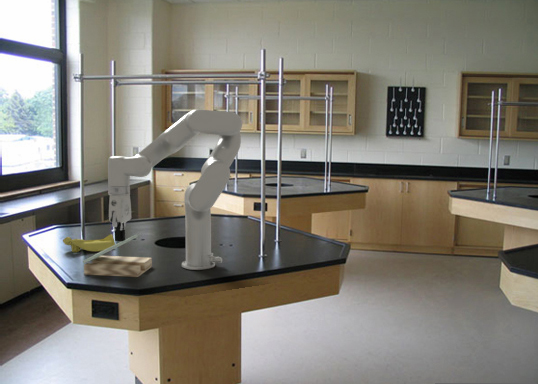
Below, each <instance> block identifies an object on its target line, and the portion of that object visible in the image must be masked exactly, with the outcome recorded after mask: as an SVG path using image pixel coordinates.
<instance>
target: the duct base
mask: <svg viewBox="0 0 538 384" xmlns="http://www.w3.org/2000/svg"><path fill="white" fill-rule="evenodd" d="M152 259H153V258H152V257H143V256H121V255H120V256H119V255H117V256H116V255H100V256H98V257H96V258H94V259H92V260H91V263H90V262H86V263H84V264H83V274H84V275H85V276H87V275H88V276H90V275H91V276H111V277H132V278H138V277H140V276H142V275H143V274H144V273H146V272H147V271H148V270H149V269H151V268H152V267H153V263H152V262H153V260H152Z"/></svg>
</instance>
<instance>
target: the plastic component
mask: <svg viewBox="0 0 538 384" xmlns="http://www.w3.org/2000/svg"><path fill="white" fill-rule="evenodd" d="M62 242H63V243H64V245H66V246H70V247H71V252H72V253H79V252H81V251H82V250H84V251H87V252H93V253H95V252H101V251H103V250H105V249H107V248H109V247H111V246H113V245H115V244H116V241H115V237H114V235H113V234H109V235H107V236H106V237H104V238H100V239H89V240H88V239H87V240H85V239H82V238H73V239H72V238H71V237H69V236H66V237H65V238H64V239H63V240H62Z"/></svg>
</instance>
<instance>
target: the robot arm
mask: <svg viewBox="0 0 538 384" xmlns="http://www.w3.org/2000/svg"><path fill="white" fill-rule="evenodd" d="M242 128H243V121H242V119H241V116H240V115H238V113H236V112H233V111H220V110H211V109H203V108H202V109H200V108H196V109H192V110H190V111H188V112H187V113H185V114H184V115H183V116H182V117H181V118H179V120H177V121H176V122H175V123H174V124H172V125H171V126H169V128H167V129H165V131H163V132H162V133H161V134H159V136H158V137H157V138H155V139H154V140H153V141H151V142H150V143H149V144H148V145H146V146H145V147H144V148H143V149H141V150H140V151H139V152H138V153H137V154H135V155H134V156H131V157H130V156H129V157H128V156H124V155H114V156H112V155H111V156H109V157H108V159H107V178H108V179H107V184H108V186H107V187H108V190H107V191H108V192H107V193H108V194H107V195H108V196H109V202H108V219H109V223H112V224H111V227H113V229H114V242H122V241H124V240H126V223H127V222H128V221H130V220H131V219H132V202H131V196H130V195H131V177H135V178H145V177H146V176H149V175H150V174H151V172H152V169H153V167H155V166H156V165H157V164H159V163H160V162H161V161H162V160H164V159H166V158H167V157H169V156H171V155H174V154H176V153H177V152H178V151H180V150H181V149H183V148H184V147H185V146H186V145H187V144H189V143H190V142H191V141H192V140H194V139H195V138H196V137H197V136H198V135H200V134H206V135H215V136H217V135H218V139H217V143H216V144H215V146H214V148H213V149H212V151H211V153H210V155H209V156H208V158H207V159H206V161H205V162H203V163H204V164H203V165H202V167H201V169H200V173H201V175H200V177H199V179H198V180H197V182H194V183H192V184H189V186H187V188H186V190H185V192H184V196H183V197H184V201H183V202H184V211H185V212H184V213H185V214H184V216H185V217H184V218H185V260H184V261H182V262H181V267H182V268H183V269H186V270H194V271H195V270H196V271H200V270H209V269H212V268H214V267H215V266H216V263H218V264H221V263H223V258H222V257H220V256H215V255H214V252H212V213H211V209H212V207H214V206H215V203H216V202H217V201H218V199H219V197H220V196H221V194H222V192H223V191H224V189H225V188H226V186H227V185H228V183H229V180H230V178H231V169H230V167H231V165H232V164H233V162H234V160H235V158H236V157H237V155H238V152H239V150H240V147H241V143H242V136H241V130H242Z"/></svg>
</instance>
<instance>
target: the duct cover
mask: <svg viewBox="0 0 538 384" xmlns="http://www.w3.org/2000/svg"><path fill="white" fill-rule="evenodd" d="M138 237H139V233H135V234H134V235H132V236H130V237H128V238H125V240H124V241H118V243H115V245H113V246H111V247H109V248H107V249H105V250H103V251H98V253H95V254H94V255H91V256H90V257H88V258H86V259H84V260H82V263H83V264H86V263H89V262H90V261H92V260H94V259H96V258H98V257H99V256H103V255H104V254H107V253H108V252H110V251H112V250H115V249H116V248H118V247H122V245H125V244H127V243H129V242H130V241H132V240H134V239H136V238H138Z"/></svg>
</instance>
